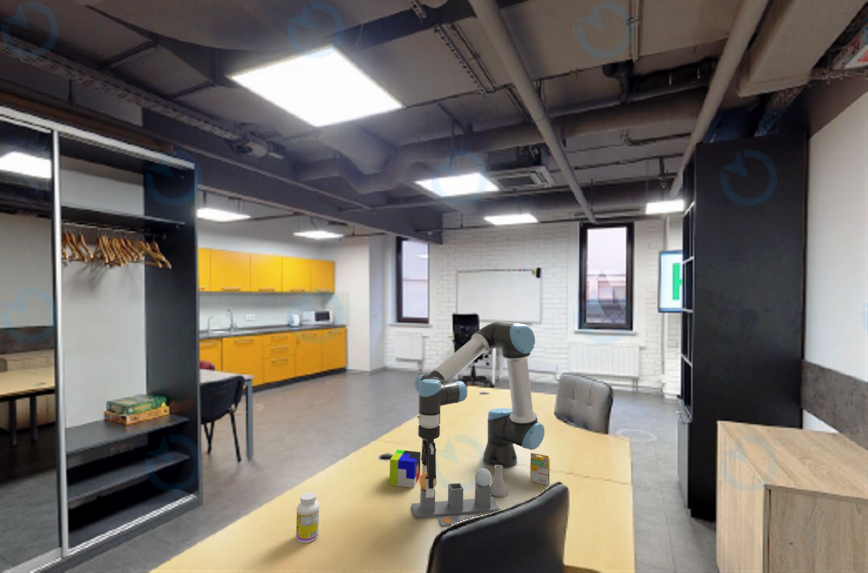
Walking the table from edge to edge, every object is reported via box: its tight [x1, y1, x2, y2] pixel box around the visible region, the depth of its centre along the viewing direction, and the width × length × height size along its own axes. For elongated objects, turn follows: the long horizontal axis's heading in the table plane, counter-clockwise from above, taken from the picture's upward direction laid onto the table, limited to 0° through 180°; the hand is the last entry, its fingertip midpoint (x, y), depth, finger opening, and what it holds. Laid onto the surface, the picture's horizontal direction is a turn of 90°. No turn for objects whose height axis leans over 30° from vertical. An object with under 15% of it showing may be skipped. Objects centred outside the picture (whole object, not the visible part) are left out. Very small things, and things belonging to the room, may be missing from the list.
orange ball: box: [418, 472, 437, 490], centre depth 140 cm, size 6×6×6 cm
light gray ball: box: [474, 467, 493, 487], centre depth 143 cm, size 6×6×6 cm
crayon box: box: [529, 452, 551, 486], centre depth 163 cm, size 7×3×12 cm, turn 65°
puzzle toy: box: [388, 449, 422, 489], centre depth 162 cm, size 10×10×10 cm
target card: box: [438, 514, 481, 528], centre depth 134 cm, size 14×4×1 cm, turn 101°
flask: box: [490, 465, 508, 498], centre depth 154 cm, size 7×7×10 cm
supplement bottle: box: [295, 491, 320, 544], centre depth 124 cm, size 7×7×13 cm
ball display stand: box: [411, 481, 501, 520], centre depth 142 cm, size 30×8×8 cm, turn 101°
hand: (427, 490), depth 140 cm, fingers open, 8 cm apart
